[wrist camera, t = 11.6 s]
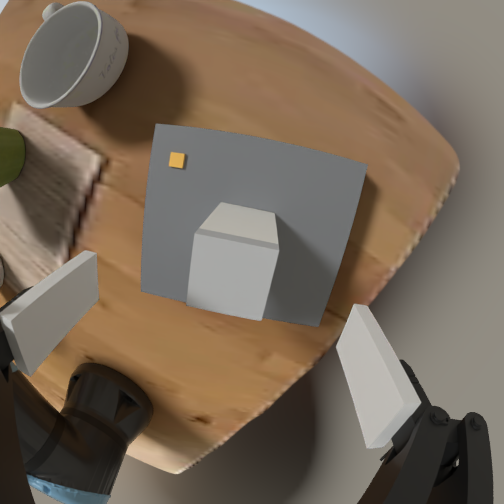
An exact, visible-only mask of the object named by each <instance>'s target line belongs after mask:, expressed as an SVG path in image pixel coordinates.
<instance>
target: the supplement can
mask: <svg viewBox="0 0 504 504" xmlns="http://www.w3.org/2000/svg"><path fill="white" fill-rule="evenodd" d="M3 279H4V269H3V264H2V261H1V258H0V287H1V286H2V284H3Z"/></svg>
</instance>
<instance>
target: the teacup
mask: <svg viewBox="0 0 504 504" xmlns="http://www.w3.org/2000/svg"><path fill="white" fill-rule="evenodd" d="M42 16H43V19H44V21H45V22H44V23H43V24H42V25H41V26H40V27H39V29H38V30H37V32H36V33H35V35H34V36H33V38H32V39H31V41H30V43H29V44H28V46H27V49H26V51H25V54H24V57H23V60H22V64H21V69H20V89H21V93H22V96H23V98H24V100H25V101H26V102H27V103H28V104H29V105H30V106H32V107H34V108H38V109H44V108H49V107H76V106H82V105H85V104H88V103H91V102H93V101H95V100H96V99H98V98H100V97H101V96H102V95H104V94H105V93H106V92H107V91H108V90H109V89H110V88H111V87H112V86H113V85H114V83H115V82H116V81H117V79H118V78H119V76H120V74H121V72H122V70H123V68H124V66H125V63H126V60H127V56H128V50H129V43H128V37H127V34H126V31H125V29H124V28H123V26H122V25H121V24H120V23H119V22H118V21H117V20H116V19H114V18H113V17H111V16H110V15H108V14H107V13H105V12H103V11H101V10H100V9H98V8H97V7H96V6H95V5H93V4H92V3H90V2H82V1H79V2H74V3H71V4H68V5H66V6H63V5H62V4H60V3H52V4H50V5H49V6H48V7H47V8H46V9H45V10H44V11H43V15H42Z"/></svg>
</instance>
